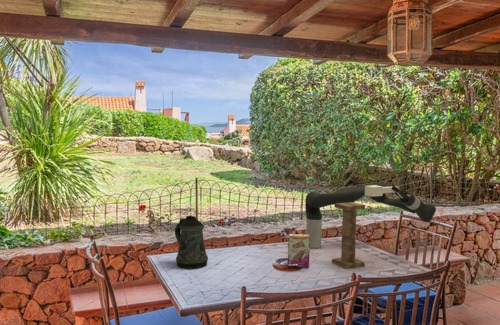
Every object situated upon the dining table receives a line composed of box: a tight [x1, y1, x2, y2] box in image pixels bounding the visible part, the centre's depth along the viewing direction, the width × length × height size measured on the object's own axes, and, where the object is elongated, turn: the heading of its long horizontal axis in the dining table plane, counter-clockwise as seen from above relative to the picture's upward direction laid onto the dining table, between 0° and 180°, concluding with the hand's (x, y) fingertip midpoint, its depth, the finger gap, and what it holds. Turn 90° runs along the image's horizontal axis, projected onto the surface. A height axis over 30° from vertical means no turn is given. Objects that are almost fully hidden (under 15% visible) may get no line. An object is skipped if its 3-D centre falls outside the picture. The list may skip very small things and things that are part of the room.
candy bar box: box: [287, 233, 311, 269], centre depth 230 cm, size 11×5×16 cm, turn 84°
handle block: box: [364, 185, 400, 197], centre depth 242 cm, size 20×6×5 cm, turn 116°
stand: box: [331, 202, 366, 270], centre depth 234 cm, size 12×12×32 cm
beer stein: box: [174, 215, 209, 270], centre depth 231 cm, size 16×19×25 cm
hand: (390, 186), depth 245 cm, fingers closed on handle block, 2 cm apart
